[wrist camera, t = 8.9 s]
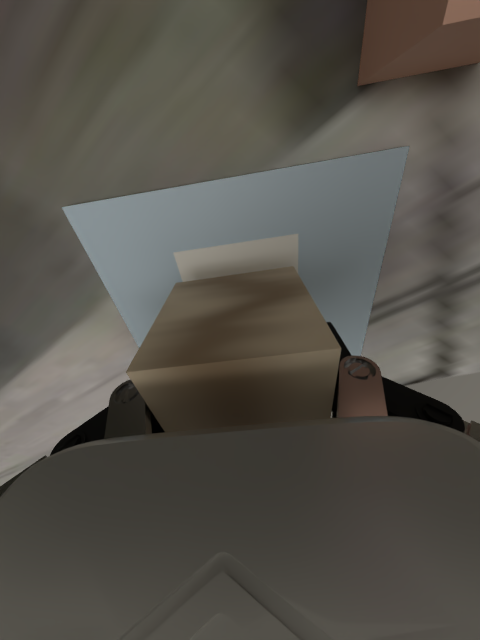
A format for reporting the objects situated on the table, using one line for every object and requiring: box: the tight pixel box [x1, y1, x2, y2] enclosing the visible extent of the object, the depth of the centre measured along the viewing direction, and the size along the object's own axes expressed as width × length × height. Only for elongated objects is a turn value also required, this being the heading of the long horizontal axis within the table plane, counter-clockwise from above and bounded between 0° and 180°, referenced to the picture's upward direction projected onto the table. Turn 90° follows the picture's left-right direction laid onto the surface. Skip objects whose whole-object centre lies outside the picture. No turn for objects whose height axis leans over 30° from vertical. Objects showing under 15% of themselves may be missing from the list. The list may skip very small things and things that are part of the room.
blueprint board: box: [62, 146, 409, 356], centre depth 15 cm, size 18×14×1 cm
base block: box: [126, 266, 341, 432], centre depth 10 cm, size 6×6×6 cm
